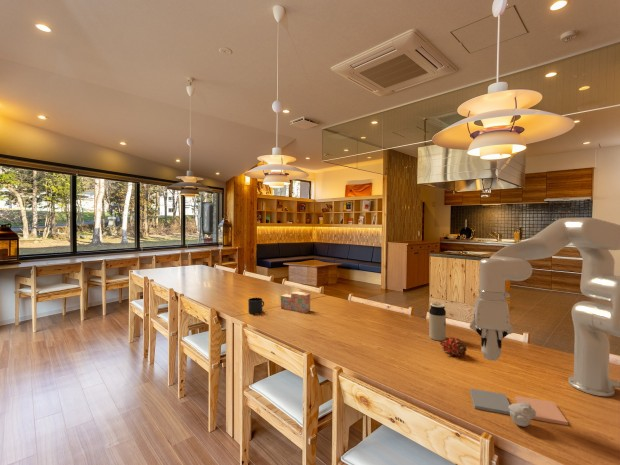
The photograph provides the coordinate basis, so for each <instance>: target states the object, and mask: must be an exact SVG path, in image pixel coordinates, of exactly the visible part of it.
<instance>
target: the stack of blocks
mask: <svg viewBox="0 0 620 465" xmlns="http://www.w3.org/2000/svg"><path fill="white" fill-rule="evenodd" d="M280 309H283V310H288V311H294V312H299V313H304V314H305V313H308V312H310V311H311V293H309V292H304V291H303V292H300V291H293V292H291V293H290V294H288V293H285V294H282V295H281V296H280Z"/></svg>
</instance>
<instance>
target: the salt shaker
mask: <svg viewBox="0 0 620 465" xmlns="http://www.w3.org/2000/svg"><path fill="white" fill-rule="evenodd" d="M493 328H494V327H493ZM485 338H486V339H487V342H486V346H485V342H484V344H483V346H481V349H480V350H481V353H482V355H483V357H484V359H486V360H488V361H492V362H493V361H495V362H497V361H498V360H499V358H500V356H501V355H502V350H501V349H502V348H500V351H499V347H498V342H497V340H498V333H497V330H488V329H486V336H485Z"/></svg>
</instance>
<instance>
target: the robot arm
mask: <svg viewBox="0 0 620 465" xmlns="http://www.w3.org/2000/svg"><path fill="white" fill-rule="evenodd" d="M570 244H572V245H573V246H574V247H575V248H576V249H577V250H578V251H579V254H581V258H582V266H581V267H582V268H581V275H580V276H581V277H580V283H579V287H580V292H581V294H582V295H583V296H585V297H587V298H589V299H594V300H598V301H602V302H603V301H604V302H606V303H611V304H612V305H611V306H610V305H607V304H602V303H599V302H594V301H588V300H587V301H586V300H581V301H578V302H576V303H575V304H574V305H573V306H572V308H571V310H570V311H571V319H572V322H573V323H572V324H573V330H574V331H573V332H574V345H573V346H574V347H573V348H574V349H573V350H574V351H573V375H571V376H569V377H568V380H567V381H568V383H569V385H570V386H572V388H575V389H577V390H579V391H581V392H583V393H587V394H588V395H589V394H590V395H594V396H599V397H613V396H615V388H619V389H620V381H618V380H617V379H613V378H612V379H611V378H610V353H611V352H610V350H611V348H610V347H611V345H610V341H609V338H608V336H607V335H611V336H615V337H618V338H620V275H615V263H616V262H615V259H614V256H613V254H612V253H611V251H620V224H617V223H613V222H610V221H606V220H603V219H598V218H594V217H561V218H558V219H556V220H555V221H553V222H552V223H551V224H550V223H549V225H548V226H546V227H545V228H543V229H541V230H540V231H539V232H537V233H536V234H535V235H533V236H531V237H529V238H526V239H522V240H520V241H517V242H515V243H511V244H508V245H506V246H503V248H501V249H499V250H498V251H496V252H495V253H493V254H492V255H491V256H490V257H489V258H488V257H486V258H482V259H480V260H479V262H478V263H479V265H478V267H479V268H478V272H479V273H478V296H477V297H476V299H475V300H474V310H473V320H472V321H471V323H470V324H469V329H471V330H472V331H474V332H476V333H477V334H478V335H479V336H480V344H481V347H482V346H483V344H484V342H485V346H486V342H487V339H486V338H485V336H486V329H488V330H497V333H498V340H497V342H498V347H499V351H500V349H502V341H503V339H504V338H505V337H507V336H508V335H512V334H513V333H515V330H514V328H513V326H512V325H511V320H510V312H509V311H510V310H509V304H508V301H507V298H510V297H511V294H510V292H506V281H512V282H513V281H515V282H522V281H526V280H527V279H529V278H530V277H531V276H532V274H533V266H532V265H531V263H530V262H529V261H533V260H535V261H536V260H541V259H542V260H543V259H548V258H550V257H553V256H554V255H556V254H557V253H559V251H562V249H564V248H565V247H567V246H568V245H570ZM493 327H494V328H493Z"/></svg>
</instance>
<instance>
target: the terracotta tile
mask: <svg viewBox="0 0 620 465" xmlns="http://www.w3.org/2000/svg"><path fill="white" fill-rule="evenodd" d="M514 400H515V402H516V403H521V402H523V403H529V404H530V405H531V408H533V409H534V410H535V411H536V416H535V417H534V418H533V419H532V420H536V421H542V422H547V423H551V424H552V423H553V424H556V425H564V426H569V421H568V420H567V419H566V417H565V416H564V414H563V413H562V412H561V410H560V408H558V406H557V405H556V403H555V402H554V401H550V400H543V399H537V398H532V397H525V396H520V395H519V396H518V395H515V396H514Z"/></svg>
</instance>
